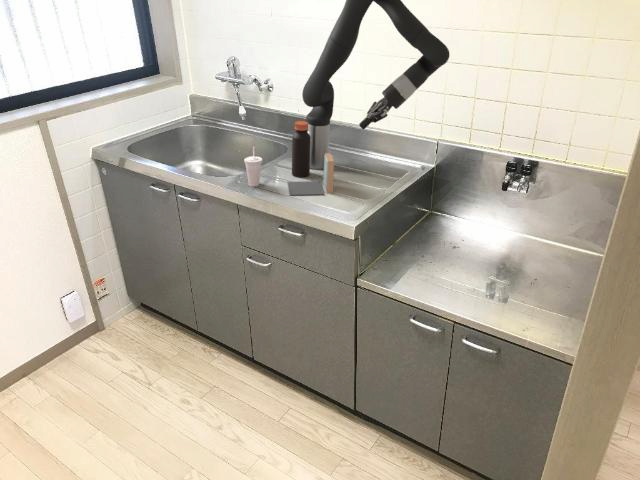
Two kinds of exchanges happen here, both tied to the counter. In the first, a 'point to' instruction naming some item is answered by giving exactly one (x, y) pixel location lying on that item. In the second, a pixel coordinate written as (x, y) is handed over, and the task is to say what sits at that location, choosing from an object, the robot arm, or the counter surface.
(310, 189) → the mat
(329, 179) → the tile
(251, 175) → the smoothie
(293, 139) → the bottle
